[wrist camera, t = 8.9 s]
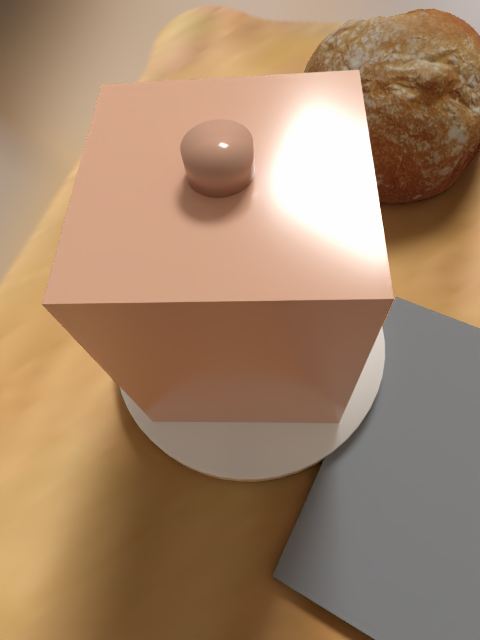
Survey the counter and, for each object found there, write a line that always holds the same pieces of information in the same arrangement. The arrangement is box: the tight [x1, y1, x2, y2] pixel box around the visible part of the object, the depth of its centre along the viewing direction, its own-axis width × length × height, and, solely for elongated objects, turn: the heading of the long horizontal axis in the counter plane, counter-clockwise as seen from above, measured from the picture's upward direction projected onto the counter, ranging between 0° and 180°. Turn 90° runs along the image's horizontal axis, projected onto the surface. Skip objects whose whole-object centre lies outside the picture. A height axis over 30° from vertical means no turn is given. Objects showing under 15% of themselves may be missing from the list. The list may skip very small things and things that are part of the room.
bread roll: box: [304, 9, 480, 204], centre depth 23 cm, size 10×10×8 cm
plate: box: [119, 327, 385, 482], centre depth 19 cm, size 11×11×1 cm
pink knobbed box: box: [42, 70, 394, 423], centre depth 14 cm, size 7×7×10 cm
